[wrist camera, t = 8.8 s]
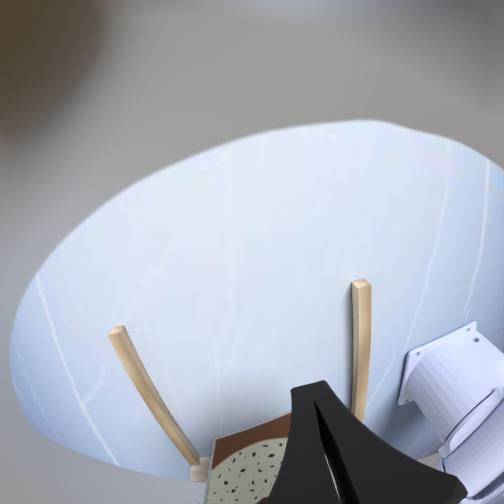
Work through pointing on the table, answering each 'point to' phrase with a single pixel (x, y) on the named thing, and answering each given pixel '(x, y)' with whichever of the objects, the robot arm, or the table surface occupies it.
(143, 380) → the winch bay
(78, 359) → the table surface
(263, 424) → the food container
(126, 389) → the table surface
